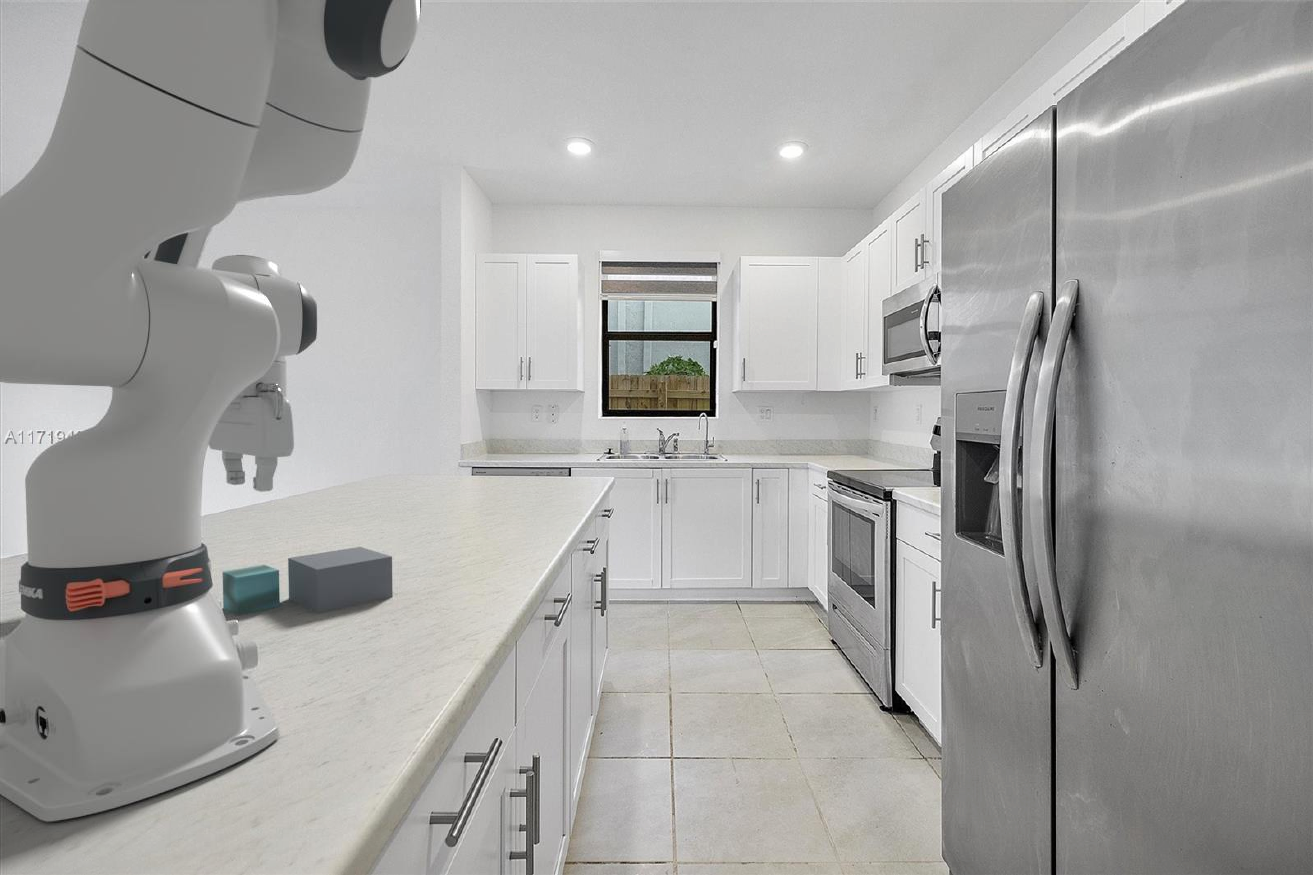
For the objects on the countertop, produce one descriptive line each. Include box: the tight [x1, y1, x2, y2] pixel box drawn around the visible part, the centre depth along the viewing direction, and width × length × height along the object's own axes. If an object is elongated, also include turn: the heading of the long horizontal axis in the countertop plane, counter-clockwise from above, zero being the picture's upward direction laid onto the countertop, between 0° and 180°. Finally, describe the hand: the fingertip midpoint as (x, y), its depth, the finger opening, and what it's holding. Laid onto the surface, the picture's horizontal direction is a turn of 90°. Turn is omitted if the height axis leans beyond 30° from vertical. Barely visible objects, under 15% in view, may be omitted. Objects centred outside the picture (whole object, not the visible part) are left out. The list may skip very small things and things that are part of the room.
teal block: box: [222, 564, 281, 617], centre depth 85 cm, size 5×5×5 cm
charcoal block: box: [287, 546, 394, 615], centre depth 90 cm, size 10×10×6 cm
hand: (249, 487), depth 85 cm, fingers open, 8 cm apart
